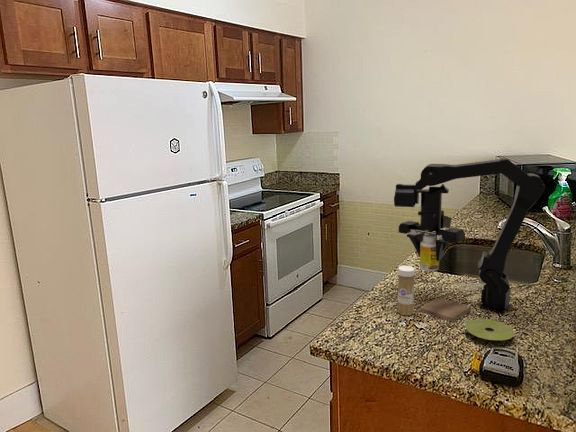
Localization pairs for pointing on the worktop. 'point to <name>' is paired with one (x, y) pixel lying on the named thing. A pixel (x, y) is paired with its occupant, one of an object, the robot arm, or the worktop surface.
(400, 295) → the sprinkles bottle
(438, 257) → the robot arm
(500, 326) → the yellow-green flat disc
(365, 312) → the worktop surface
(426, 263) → the supplement bottle
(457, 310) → the walnut board
